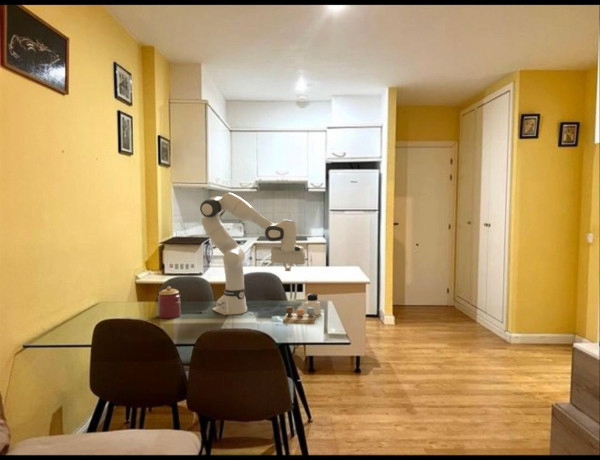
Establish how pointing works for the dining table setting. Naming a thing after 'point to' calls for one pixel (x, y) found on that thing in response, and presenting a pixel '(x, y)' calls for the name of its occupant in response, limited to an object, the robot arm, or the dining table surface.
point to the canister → (169, 303)
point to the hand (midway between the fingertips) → (287, 270)
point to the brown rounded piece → (289, 310)
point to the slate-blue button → (310, 311)
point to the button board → (299, 318)
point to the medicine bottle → (312, 304)
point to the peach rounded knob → (299, 312)
